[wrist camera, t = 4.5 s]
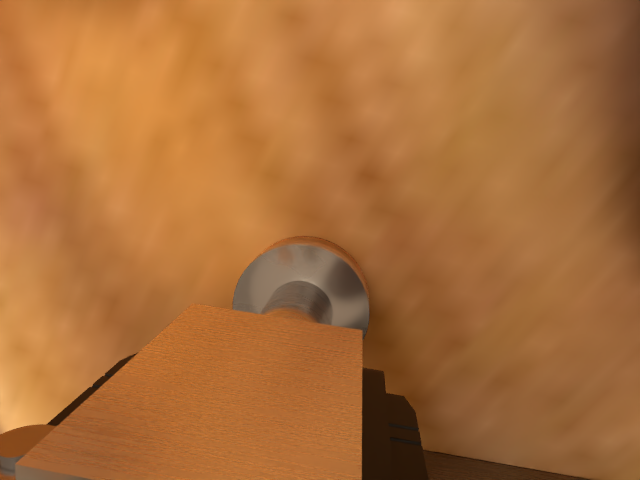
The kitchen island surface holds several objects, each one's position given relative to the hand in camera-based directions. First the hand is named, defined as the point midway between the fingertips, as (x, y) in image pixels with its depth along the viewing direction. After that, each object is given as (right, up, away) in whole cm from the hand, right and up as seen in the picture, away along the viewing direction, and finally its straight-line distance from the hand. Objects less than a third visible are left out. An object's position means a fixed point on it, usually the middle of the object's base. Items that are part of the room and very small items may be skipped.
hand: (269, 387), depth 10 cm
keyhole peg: (+1, +1, +6) cm, 6 cm away
